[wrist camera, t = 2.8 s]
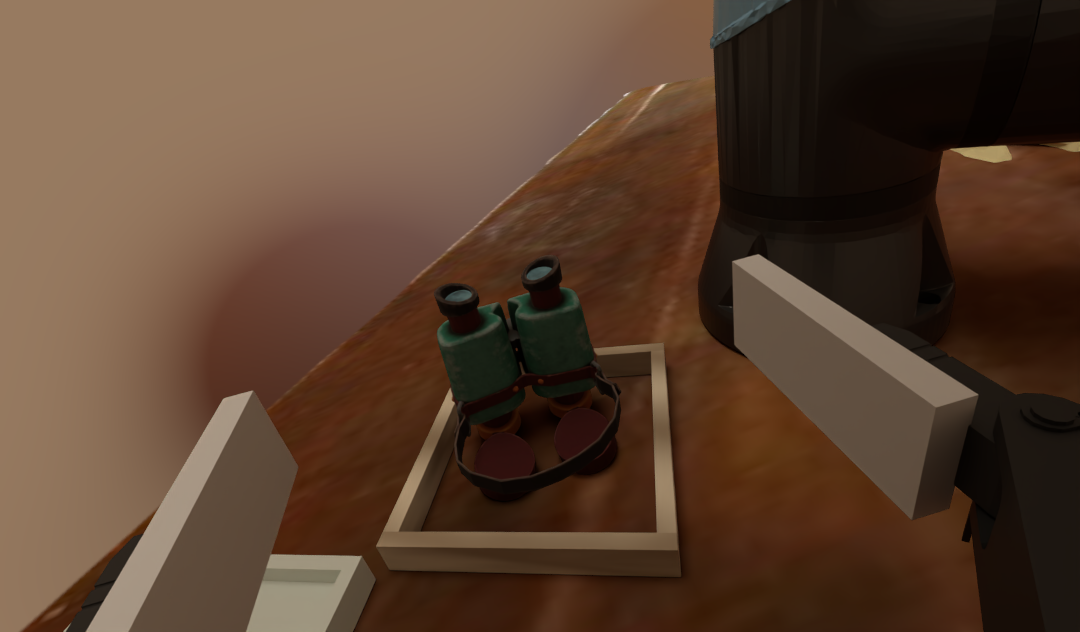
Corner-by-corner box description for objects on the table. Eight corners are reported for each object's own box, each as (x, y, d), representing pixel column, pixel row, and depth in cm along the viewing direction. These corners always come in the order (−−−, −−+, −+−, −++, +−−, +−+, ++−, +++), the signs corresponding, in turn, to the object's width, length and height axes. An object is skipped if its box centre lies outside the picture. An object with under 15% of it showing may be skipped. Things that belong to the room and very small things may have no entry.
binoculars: (416, 404, 20) (409, 277, 28) (485, 553, 26) (463, 413, 34) (640, 336, 20) (569, 231, 29) (656, 496, 27) (594, 373, 35)
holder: (470, 379, 37) (463, 359, 37) (666, 365, 34) (663, 342, 33) (389, 569, 25) (376, 546, 24) (681, 577, 22) (677, 550, 21)
